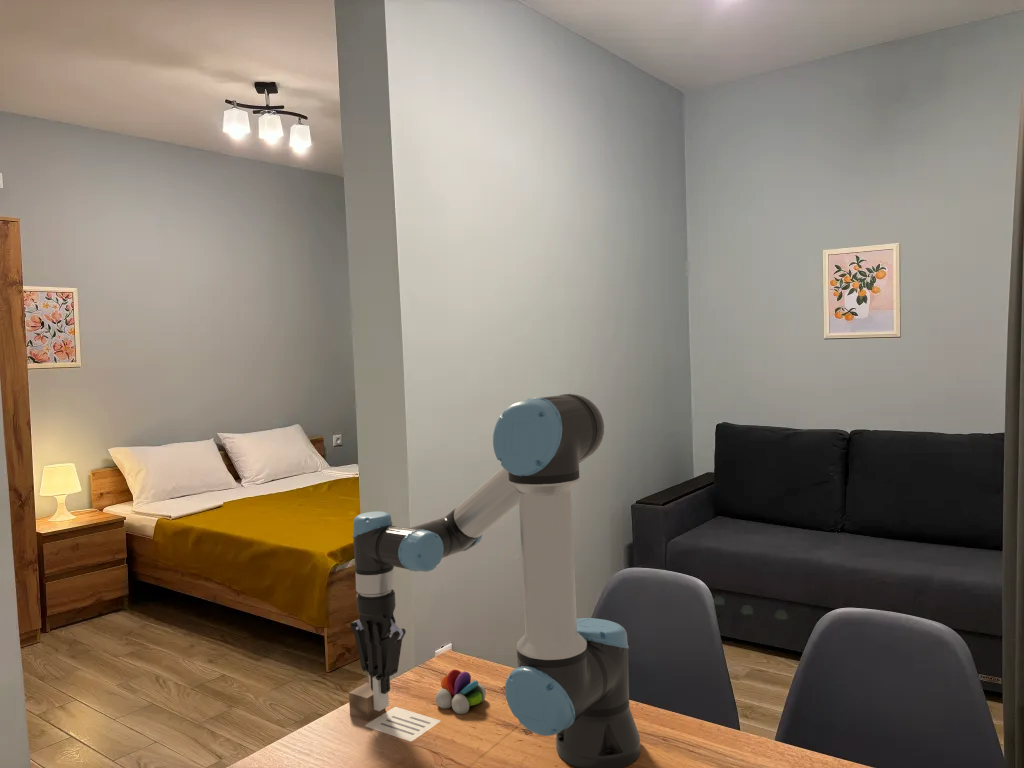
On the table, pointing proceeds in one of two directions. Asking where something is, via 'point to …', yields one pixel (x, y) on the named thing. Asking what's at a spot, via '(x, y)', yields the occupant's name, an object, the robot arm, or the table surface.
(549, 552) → the robot arm
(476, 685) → the rainbow petal toy
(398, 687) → the table surface
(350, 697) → the walnut block
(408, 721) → the letter
